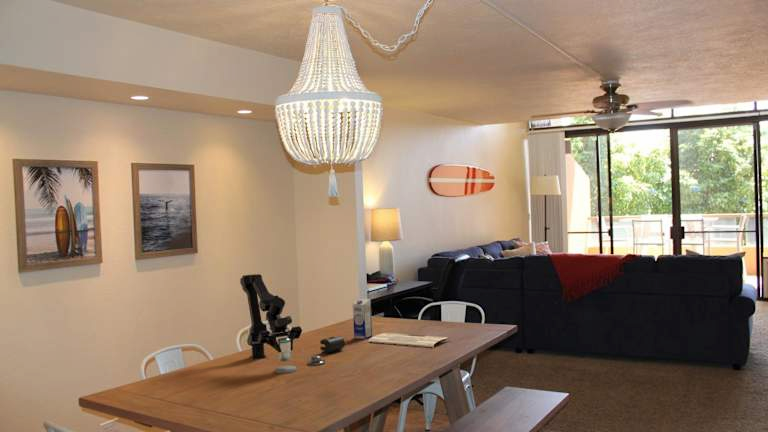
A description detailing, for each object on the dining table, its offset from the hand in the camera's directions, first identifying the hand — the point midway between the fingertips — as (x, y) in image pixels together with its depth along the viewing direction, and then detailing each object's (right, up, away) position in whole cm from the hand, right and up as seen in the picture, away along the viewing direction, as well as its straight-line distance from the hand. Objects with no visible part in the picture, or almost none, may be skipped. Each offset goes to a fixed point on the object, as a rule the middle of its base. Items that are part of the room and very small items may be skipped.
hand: (286, 351), depth 287 cm
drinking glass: (0, -4, +1) cm, 4 cm away
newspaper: (+54, -6, +49) cm, 73 cm away
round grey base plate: (+12, -8, +12) cm, 19 cm away
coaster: (0, -9, +1) cm, 9 cm away
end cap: (+17, -7, +34) cm, 39 cm away
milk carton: (+31, -6, +64) cm, 71 cm away
